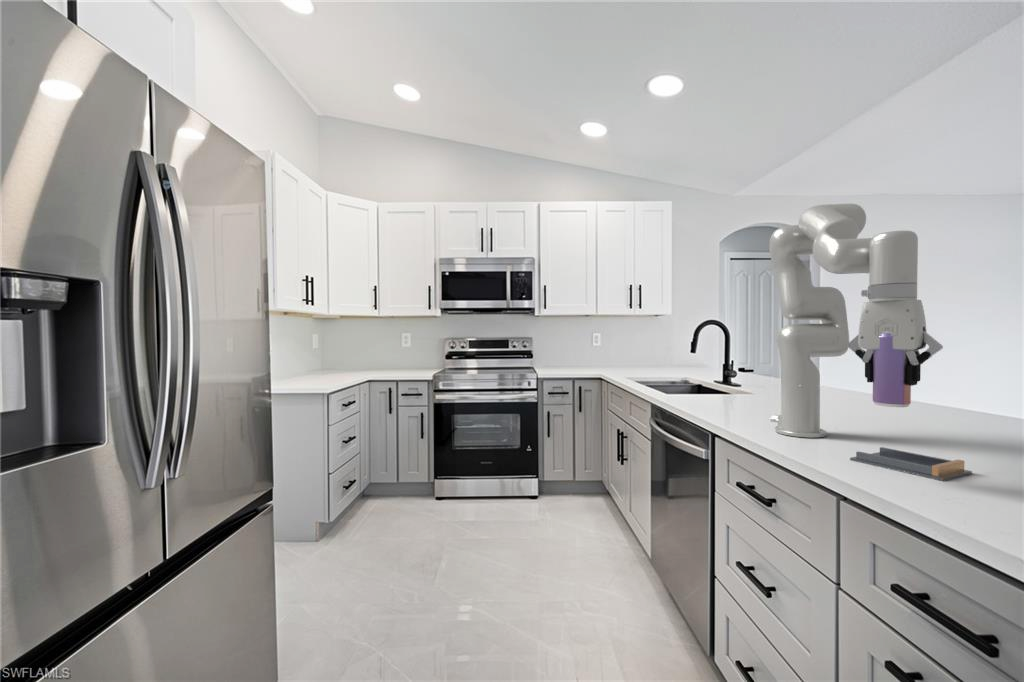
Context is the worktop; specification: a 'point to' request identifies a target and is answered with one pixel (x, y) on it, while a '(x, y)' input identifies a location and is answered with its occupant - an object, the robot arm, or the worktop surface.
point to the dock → (914, 463)
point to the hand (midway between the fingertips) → (891, 382)
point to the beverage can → (890, 374)
